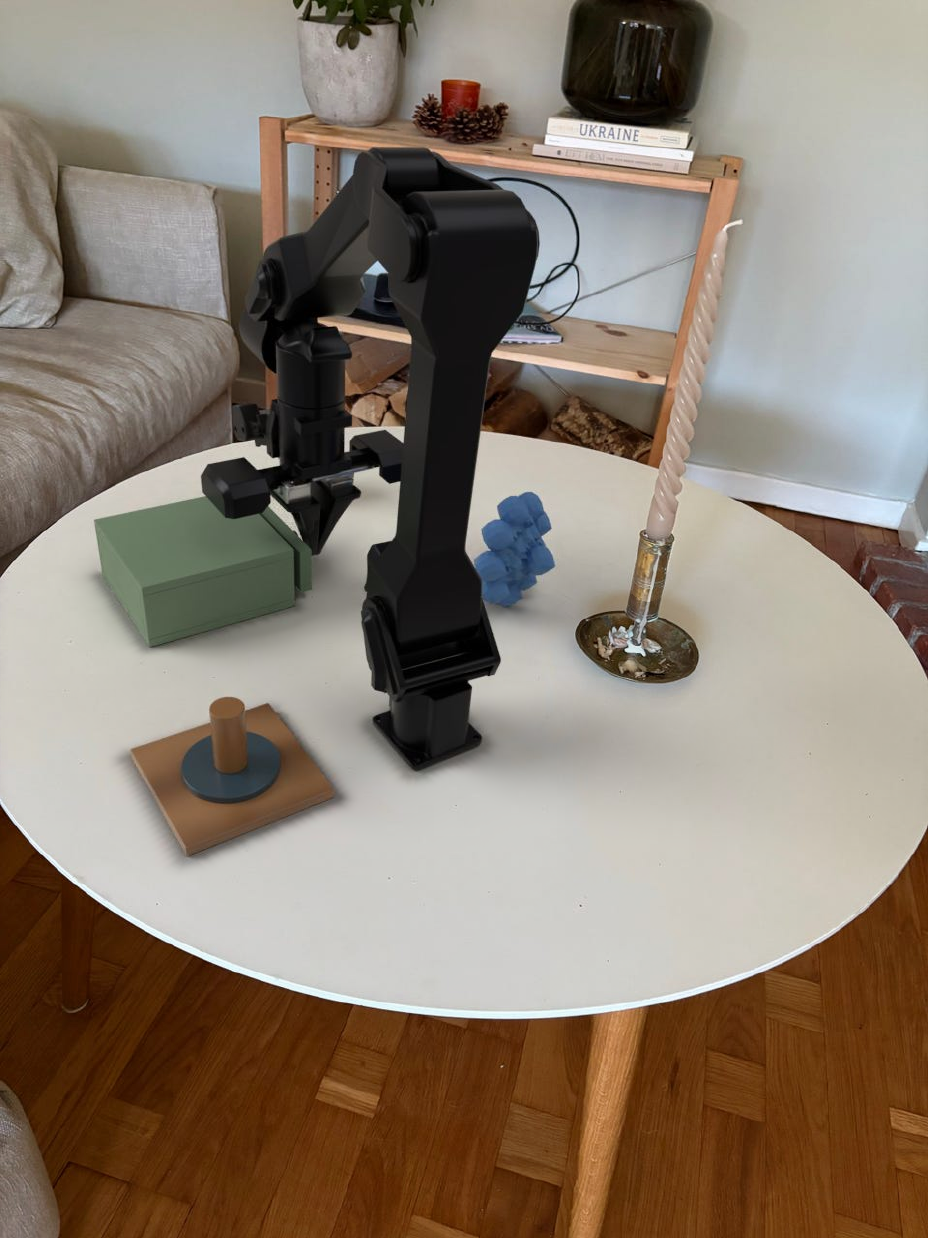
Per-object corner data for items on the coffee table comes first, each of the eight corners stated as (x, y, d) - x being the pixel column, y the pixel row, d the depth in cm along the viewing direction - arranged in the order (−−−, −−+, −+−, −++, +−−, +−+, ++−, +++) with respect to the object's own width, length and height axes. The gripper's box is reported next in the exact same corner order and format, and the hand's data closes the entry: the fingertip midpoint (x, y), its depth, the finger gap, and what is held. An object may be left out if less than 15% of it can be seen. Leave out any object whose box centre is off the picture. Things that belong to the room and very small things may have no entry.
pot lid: (297, 781, 69) (295, 720, 66) (204, 817, 65) (197, 755, 62) (256, 724, 73) (252, 665, 70) (166, 756, 70) (159, 694, 67)
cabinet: (239, 543, 96) (235, 489, 93) (295, 606, 88) (293, 549, 85) (102, 576, 90) (93, 519, 86) (149, 647, 81) (141, 587, 78)
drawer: (271, 531, 97) (269, 493, 95) (323, 586, 90) (323, 546, 87) (137, 563, 90) (131, 523, 88) (182, 625, 83) (177, 583, 80)
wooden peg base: (334, 797, 69) (334, 789, 69) (186, 857, 63) (185, 848, 63) (268, 710, 76) (268, 702, 76) (131, 757, 71) (129, 749, 70)
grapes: (515, 649, 86) (532, 533, 79) (452, 622, 88) (463, 507, 81) (573, 593, 94) (593, 483, 87) (514, 570, 97) (528, 461, 90)
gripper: (361, 351, 91) (358, 496, 100) (170, 379, 82) (185, 536, 91) (423, 392, 84) (414, 545, 93) (221, 428, 75) (233, 594, 84)
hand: (313, 553), depth 90 cm, fingers closed
